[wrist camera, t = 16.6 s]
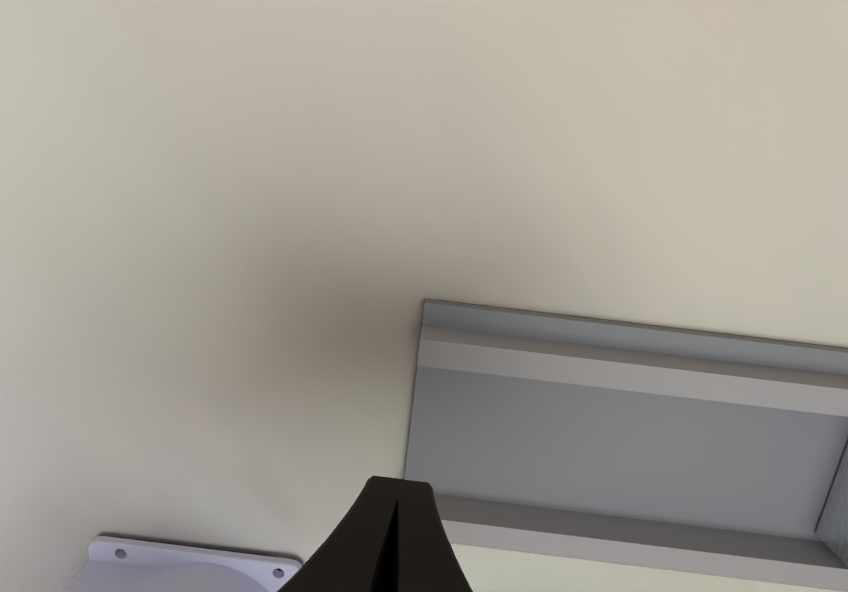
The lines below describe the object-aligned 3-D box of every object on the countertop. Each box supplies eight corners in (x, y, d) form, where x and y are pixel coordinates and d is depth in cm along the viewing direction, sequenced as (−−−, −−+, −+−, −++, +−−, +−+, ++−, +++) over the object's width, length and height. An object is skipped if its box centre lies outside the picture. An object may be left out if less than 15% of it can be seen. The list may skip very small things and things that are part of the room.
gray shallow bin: (399, 519, 22) (391, 586, 19) (425, 298, 20) (420, 327, 16) (919, 583, 22) (1009, 662, 19) (1014, 368, 19) (1137, 412, 16)
